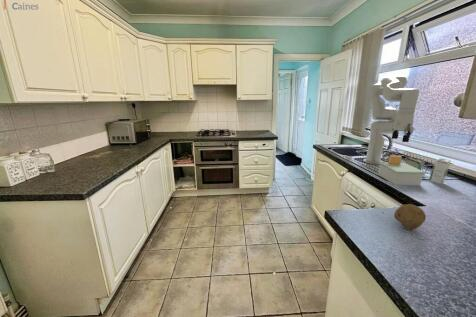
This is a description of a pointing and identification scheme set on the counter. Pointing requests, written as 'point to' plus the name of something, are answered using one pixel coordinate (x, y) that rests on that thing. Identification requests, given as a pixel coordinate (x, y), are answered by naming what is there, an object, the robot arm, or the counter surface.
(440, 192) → the counter surface
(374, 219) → the counter surface
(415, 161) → the food container
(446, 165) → the syrup box
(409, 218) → the natural sponge
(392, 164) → the lid
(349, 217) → the counter surface
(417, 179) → the tub
